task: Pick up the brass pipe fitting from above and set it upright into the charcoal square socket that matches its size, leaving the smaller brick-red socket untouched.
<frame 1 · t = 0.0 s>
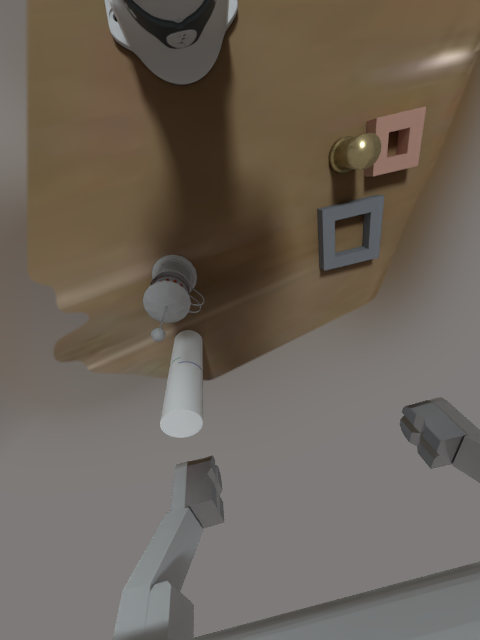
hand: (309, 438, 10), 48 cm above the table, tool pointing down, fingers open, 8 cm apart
socket block: (346, 233, 55), on the table
cylindrical container: (188, 341, 64), on the table
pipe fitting: (342, 155, 48), on the table
small socket: (387, 145, 48), on the table
french press: (178, 277, 55), on the table
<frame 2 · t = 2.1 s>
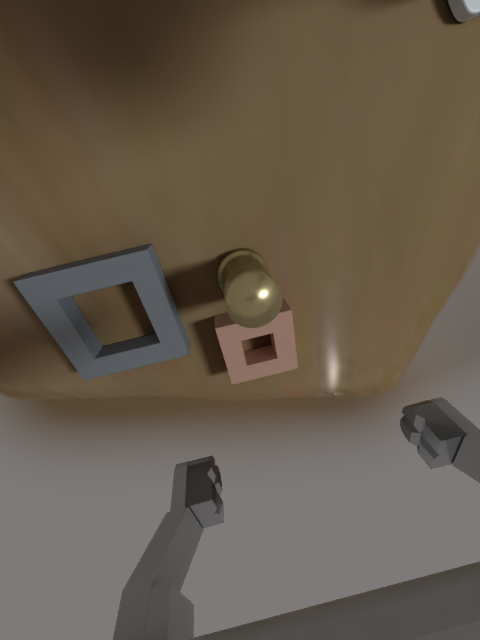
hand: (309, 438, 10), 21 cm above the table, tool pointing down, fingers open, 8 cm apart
socket block: (118, 312, 29), on the table
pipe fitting: (242, 273, 28), on the table
small socket: (255, 336, 33), on the table
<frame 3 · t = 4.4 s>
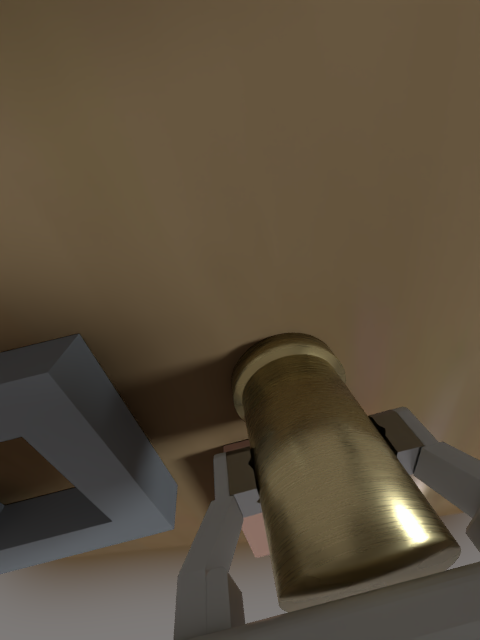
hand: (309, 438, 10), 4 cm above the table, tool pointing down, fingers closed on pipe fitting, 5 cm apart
socket block: (26, 455, 14), on the table
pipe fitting: (283, 377, 14), on the table, touching gripper
small socket: (297, 466, 18), on the table
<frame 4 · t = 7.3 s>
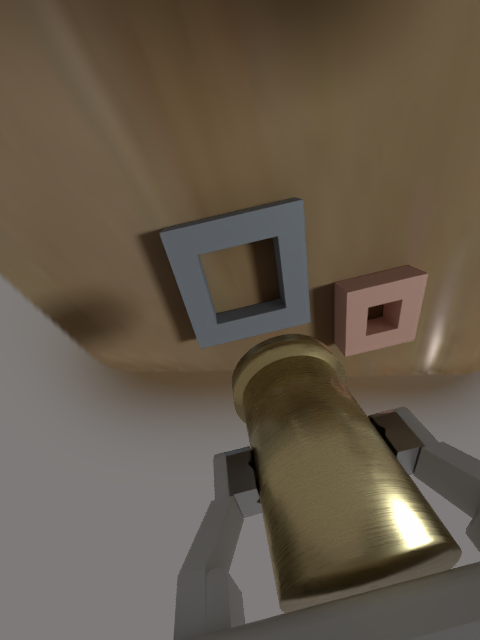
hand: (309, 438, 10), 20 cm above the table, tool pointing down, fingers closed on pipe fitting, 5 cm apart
socket block: (241, 275, 27), on the table
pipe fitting: (284, 378, 14), point 16 cm above the table, touching gripper
small socket: (368, 306, 31), on the table
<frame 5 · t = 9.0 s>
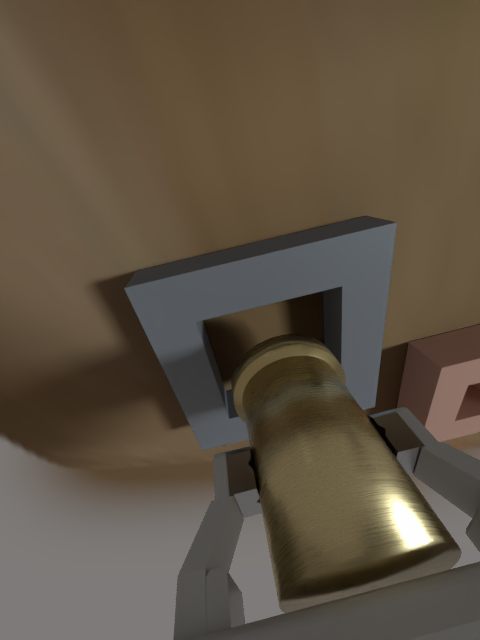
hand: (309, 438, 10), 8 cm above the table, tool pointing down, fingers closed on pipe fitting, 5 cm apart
socket block: (268, 338, 17), on the table
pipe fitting: (283, 378, 14), point 4 cm above the table, touching gripper
small socket: (451, 371, 21), on the table
when the fingers open (4 cm above the table, at t = 10.5 s): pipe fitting stays where it is, resting in socket block.
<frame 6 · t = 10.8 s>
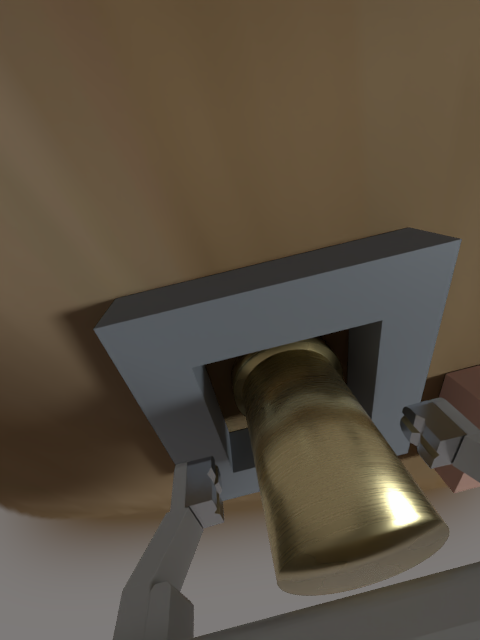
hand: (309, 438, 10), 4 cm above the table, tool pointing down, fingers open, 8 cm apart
socket block: (281, 373, 14), on the table
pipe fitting: (282, 373, 14), resting in socket block
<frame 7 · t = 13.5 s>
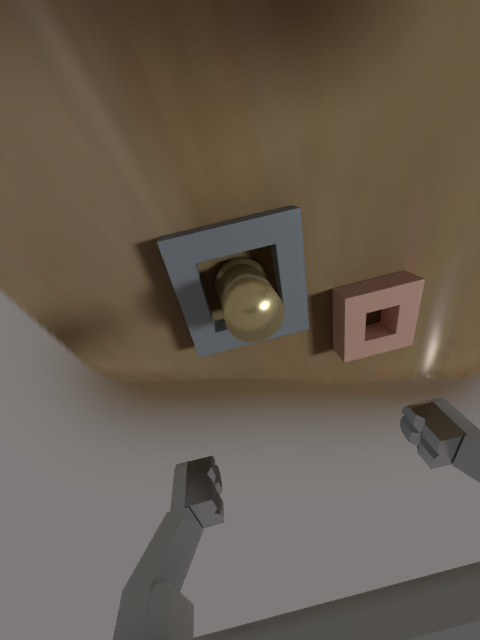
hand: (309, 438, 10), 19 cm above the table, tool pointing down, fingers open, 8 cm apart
socket block: (239, 282, 27), on the table
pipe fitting: (240, 282, 27), resting in socket block
small socket: (366, 312, 31), on the table
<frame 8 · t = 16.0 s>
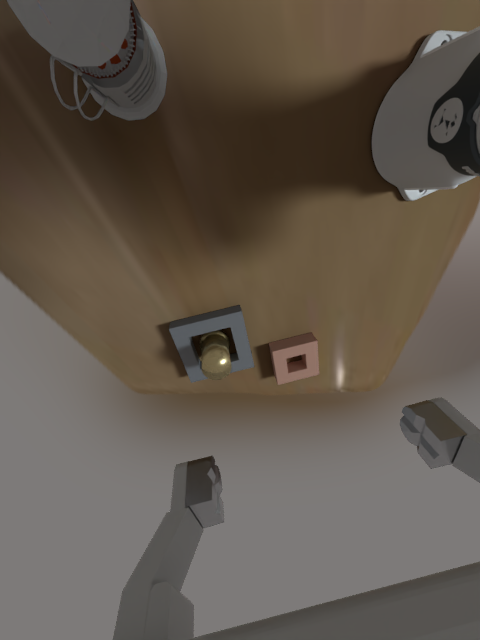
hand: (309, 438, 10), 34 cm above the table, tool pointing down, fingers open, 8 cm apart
socket block: (214, 341, 48), on the table
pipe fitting: (214, 341, 48), resting in socket block
small socket: (292, 354, 52), on the table
french press: (121, 76, 29), on the table
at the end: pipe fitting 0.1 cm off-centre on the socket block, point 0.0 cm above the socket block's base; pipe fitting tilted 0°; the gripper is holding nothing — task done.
